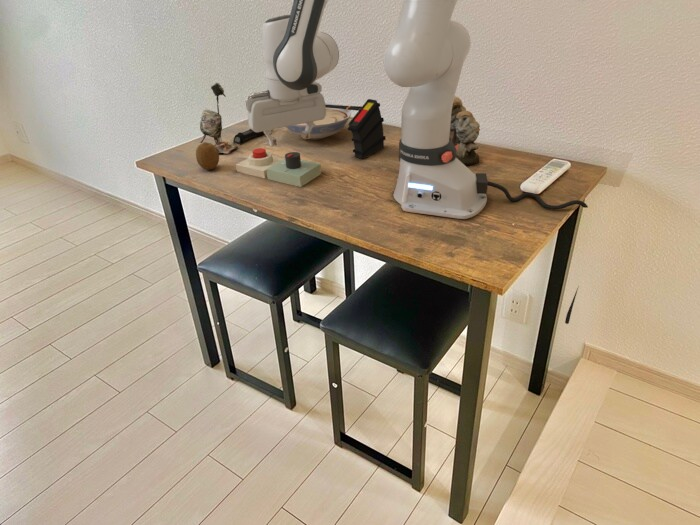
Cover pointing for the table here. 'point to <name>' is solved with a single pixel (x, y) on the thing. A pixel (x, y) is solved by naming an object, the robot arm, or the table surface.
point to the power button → (259, 153)
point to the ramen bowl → (327, 122)
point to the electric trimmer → (245, 136)
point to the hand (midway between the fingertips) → (290, 141)
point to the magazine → (367, 130)
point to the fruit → (207, 156)
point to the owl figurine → (464, 133)
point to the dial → (293, 160)
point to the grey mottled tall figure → (214, 124)
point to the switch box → (257, 165)
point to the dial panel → (294, 173)
